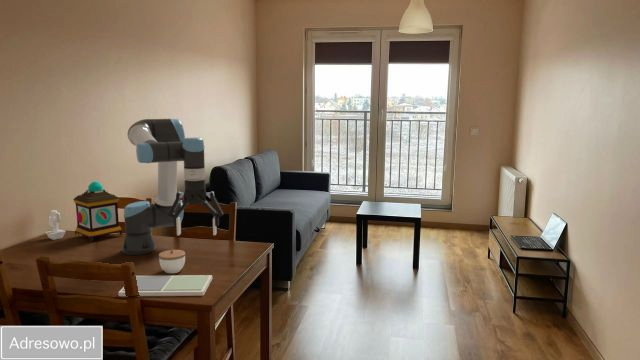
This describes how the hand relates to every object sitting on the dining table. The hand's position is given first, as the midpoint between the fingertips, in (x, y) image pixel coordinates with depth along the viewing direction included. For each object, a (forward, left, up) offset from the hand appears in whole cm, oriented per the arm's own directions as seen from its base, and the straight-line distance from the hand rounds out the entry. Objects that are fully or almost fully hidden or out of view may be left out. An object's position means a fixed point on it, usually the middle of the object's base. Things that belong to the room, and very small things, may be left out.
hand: (196, 234), depth 178 cm
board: (-12, 0, -21) cm, 24 cm away
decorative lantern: (-69, +72, -21) cm, 102 cm away
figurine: (-90, +69, -21) cm, 115 cm away
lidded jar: (-15, +18, -21) cm, 32 cm away
